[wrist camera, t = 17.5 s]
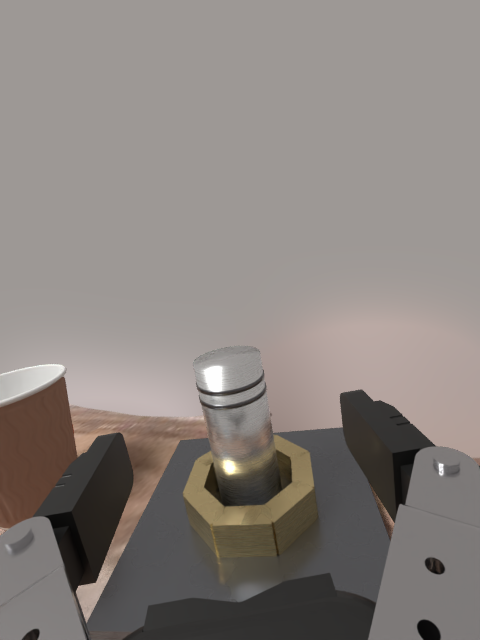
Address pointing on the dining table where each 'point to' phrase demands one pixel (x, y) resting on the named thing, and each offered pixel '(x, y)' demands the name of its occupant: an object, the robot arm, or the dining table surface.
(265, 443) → the piston
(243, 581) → the collar plate
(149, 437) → the dining table surface
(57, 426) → the coffee cup
